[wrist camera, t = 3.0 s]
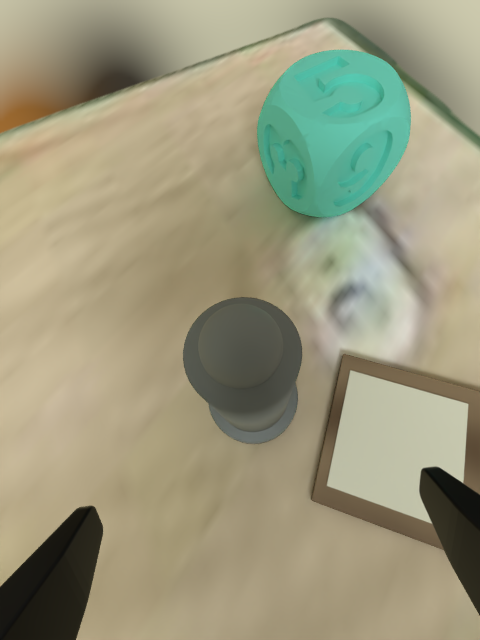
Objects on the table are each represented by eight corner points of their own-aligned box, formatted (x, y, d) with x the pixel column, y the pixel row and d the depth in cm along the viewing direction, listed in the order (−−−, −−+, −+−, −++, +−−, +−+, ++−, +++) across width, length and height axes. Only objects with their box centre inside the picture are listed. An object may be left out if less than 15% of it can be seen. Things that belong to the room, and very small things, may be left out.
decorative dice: (330, 137, 30) (350, 34, 23) (388, 191, 27) (433, 91, 20) (257, 174, 29) (253, 77, 22) (308, 234, 26) (325, 145, 19)
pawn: (270, 462, 19) (274, 464, 8) (194, 414, 21) (113, 364, 10) (311, 381, 21) (357, 297, 10) (238, 342, 23) (209, 232, 12)
